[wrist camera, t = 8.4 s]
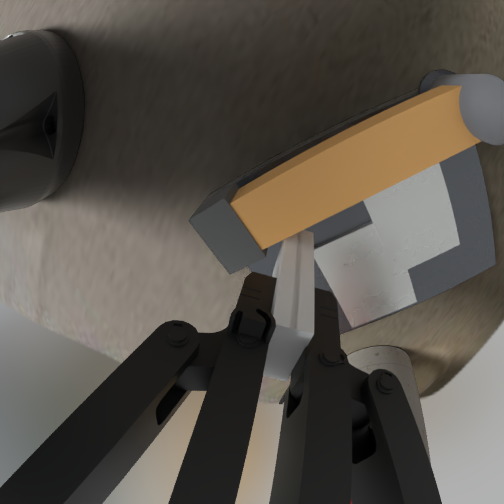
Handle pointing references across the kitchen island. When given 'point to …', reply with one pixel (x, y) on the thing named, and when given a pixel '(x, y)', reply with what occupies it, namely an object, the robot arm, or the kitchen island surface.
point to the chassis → (396, 232)
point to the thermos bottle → (401, 368)
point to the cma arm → (351, 167)
